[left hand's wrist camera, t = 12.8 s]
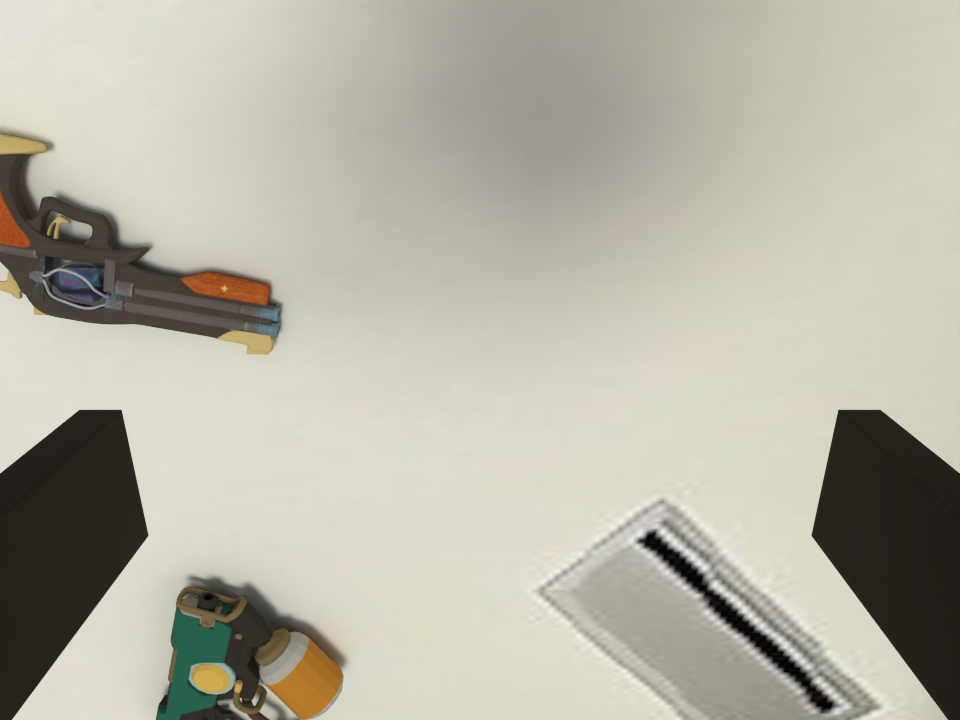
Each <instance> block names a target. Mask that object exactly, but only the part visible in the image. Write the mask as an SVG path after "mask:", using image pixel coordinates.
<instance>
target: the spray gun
mask: <svg viewBox="0 0 960 720" xmlns="http://www.w3.org/2000/svg"><path fill="white" fill-rule="evenodd" d="M188 593H194V594H197V595H201V596H200V597H199V599H197V598H193V597H190V598H186V599H183V600H182V598H183V597H184V596H185V595H186V594H188ZM223 602H225V603H229V604H232V605H236V606H235V607H234V608H233V609H232V608H231V606H230V605H229V604H225V605H224V606H223V607H222V603H223ZM176 605H177V607H176V612H175V618H174V624H173V629H172V635H171V644H172V647H173V648H174V649H173V654H172V660H171V665H170V670H169V676H168V680H169V682H170V686H169V691H168V695H165V696H164V698H163V699H162V701H161V702H160V704H159V706H158V711H157V717H156V720H231V719H229V718H228V717H230V716H231V715H232V712H231V711H230V710H228V711H226V710H223V709H221V708H220V706H219V705H217V702H216V701H217V700H218V699H225V698H233V704H234V705H235V707H236V708H237V709H238V710H240V711H242V712H244V713H247V714H248V716H249V717H250V718H251V719H252V720H269V719H268V718H266V717H265V716H264V715H262V714H261V713H260V712H259V711H260V709H261V707H262V706H263V704H264V702H265V698H266V694H267V691H266V690H265V688H264V687H263V686H260V685H258V682H259V678H260V676H261V678H262V680H263V682H264V684H265V685H266V686H267V687H268V688H269V689H270V690H271V691H272V692H273V693H274V694H275V695H276V696H277V697H278V698H279V699H280V700H281V701H282V702H283V703H284V704H285V705H286V706H287V707H288V708H290V709H291V710H292V711H293V712H294V713H295V714H296V715H297V716H298V717H299V718H301V719H303V720H308V719H312V718H315V717H318V716H320V715H321V714H323V713H324V712H326V711H327V710H328V709H329V708H330V707H331V706H332V705H333V704H334V702H335V701H336V699H337V698H338V696H339V694H340V693H341V691H342V685H343V676H344V675H343V673H342V671H341V669H340V668H339V667H338V666H337V665H336V664H335V663H334V662H333V661H332V660H331V659H330V658H329V657H328V656H327V655H326V654H325V653H324V652H323V651H322V650H321V649H320V648H319V647H318V646H317V645H316V644H315V643H314V642H313V641H312V640H311V639H310V638H309V637H308V636H306V635H304V634H302V633H300V632H290V633H289V632H288V631H287V630H286V629H284V628H280V629H277V630H275V631H274V632H273V631H272V629H271V628H270V627H269V626H268V625H267V623H266V622H265V621H264V620H263V619H262V618H261V617H260V616H259V614H258V613H257V612H256V611H255V610H254V609H253V608H252V606H251V605H250V604H249V603H247V600H246V599H245V598H244V597H243V596H241V597H239V598H237V599H233V598H230V597H226V596H223V595H220V594H216V593H213V592H209V591H206V590H203V589H199V588H196V587H187V588H184V589H183V590H182V591H181V593H180V594H179V596H178V598H177V602H176ZM258 646H259V647H258ZM254 647H258V649H257V651H256V655H255V659H256V661H257V662H258V663H259V664H260V668H259V667H258V665H257V663H256V661H255V660H254V658H253V656H252V653H253V649H254ZM256 692H259V693H260V697H259V700H258V702H257V704H256V706H253V704H252V699H253V698H254V695H255V693H256ZM239 697H240V698H242V703H241V701H240V699H239Z"/></svg>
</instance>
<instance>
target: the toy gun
mask: <svg viewBox="0 0 960 720" xmlns="http://www.w3.org/2000/svg"><path fill="white" fill-rule="evenodd" d="M45 151H46V146H45V144H43V143H41V142H38V141H34V140H30V139H25V138H20V137H15V136H9V135H3V134H0V262H1V263H2V264H3V265H4V266H5V267H6V268H7V269H8V270H9V273H8V279H7V280H6V281H0V290H2V291H5V292H8V293H11V294H12V295H13V296H14V297H16V298H18V299H20V298H22V297H23V296H22V293H24V294H25V295H26V296H27V298H28V299H29V301H30V302H31V303H32V305H33V306H34V315H50V316H54V317H59V318H65V319H71V320H77V321H83V322H89V323H97V324H139V325H145V326H151V327H157V328H163V329H168V330H174V331H180V332H186V333H192V334H198V335H203V336H209V337H214V338H217V339H220V340H225V341H230V342H236V343H241V344H246V345H248V348H247V354H269V352H271V351H272V349H273V347H274V338H277V337H278V333H279V327H280V323H278V320H279V316H280V308H279V307H275V305H276V304H271V303H269V298H270V287H269V285H267V284H264V283H259V282H255V281H251V280H247V279H242V278H237V277H233V276H228V275H223V274H219V273H214V272H205V273H200V274H196V275H191V276H186V277H177V276H172V275H166V274H161V273H156V272H153V271H149V270H147V269H144V268H142V267H140V266H138V265H136V264H134V263H133V262H134V261H136V260H138V259H139V258H140V257H142V256H143V255H144V254H145V253H146V252H147V251H148V250H149V248H138V249H116V248H115V247H114V245H113V243H112V239H113V229H112V226H111V224H110V222H109V221H108V219H107V218H106V217H105V216H103V215H100V214H95V213H90V212H86V211H82V210H79V209H77V208H74V207H72V206H70V205H68V204H66V203H64V202H62V201H60V200H58V199H56V198H54V197H44V198H42V200H41V204H40V208H39V211H38V214H37V215H36V217H35V218H34V219H33V218H32V217H31V216H30V214H29V212H28V210H27V208H26V205H25V203H24V201H23V198H22V195H21V192H20V189H19V177H20V171H21V167H22V164H23V162H24V160H25V159H26V158H27V157H28V156H30V155H31V154H38V153H43V152H45ZM51 211H55V212H57V213H59V214H62V215H64V216H66V217H68V218H70V219H72V220H75V221H78V222H82V223H86V224H89V225H91V226H92V229H93V232H92V236H91V238H90V239H89V240H88V241H87V242H86V243H80V242H75V241H70V240H64V239H59V230H60V225H61V224H62V223H70V221H69V220H68V219H67V218H65V217H63V216H58V217H56V218H55V219H54V220H53V222H52V223H51V224H50V225H49V228H48V231H47V232H46V222H47V218H48V216H49V214H50V213H51ZM55 223H56V226H55V231H54V236H52V235H51V232H52V228H53V226H54V224H55ZM53 257H54V258H60V259H66V260H71V261H77V262H71V263H67V264H64V265H62V266H60V267H59V268H57V269H53ZM90 263H94V264H105V270H104V268H97V267H95V266H94V265H92V264H90ZM74 264H86V265H89V266H88V267H67V268H64V267H66V266H69V265H74ZM90 266H91V267H90ZM52 284H53V285H54V286H55V287H56V288H57V289H58V290H59V291H61V292H62V293H63V294H65V295H66V296H68V297H70V298H72V299H77V300H82V301H87V302H92V303H93V302H95V301H97V300H99V299H101V298H103V297H105V298H107V300H106V303H105V304H100V305H97V306H92V305H86V304H81V303H75V302H72V301H68V300H65V299H63V298H60V297H58V296H56V295H55V294H54V293H53V292H52ZM108 292H109V295H107V293H108ZM273 321H274V322H273Z"/></svg>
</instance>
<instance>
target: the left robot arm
mask: <svg viewBox="0 0 960 720" xmlns="http://www.w3.org/2000/svg"><path fill="white" fill-rule="evenodd" d="M147 537H148V531H147V527H146V522H145V517H144V513H143V508H142V503H141V499H140V494H139V489H138V485H137V480H136V475H135V471H134V466H133V461H132V457H131V452H130V447H129V443H128V438H127V433H126V429H125V424H124V419H123V415H122V410H79V411H78V412H76V413H75V414H74V415H73V416H71V417H70V418H69V419H68V420H66V421H65V422H64V423H63V424H61V425H60V426H59V427H58V428H56V429H55V430H54V431H53V432H52V433H50V434H49V435H48V436H47V437H45V438H44V439H43V440H42V441H40V442H39V443H38V444H37V445H35V446H34V447H33V448H32V449H30V450H29V451H28V452H27V453H25V454H24V455H23V456H22V457H20V458H19V459H18V460H17V461H15V462H14V463H13V464H12V465H10V466H9V467H8V468H7V469H5V470H4V471H3V472H2V473H0V720H12V719H13V717H14V716H15V715H16V713H17V712H18V711H19V709H20V708H21V707H22V705H23V704H24V703H25V701H26V700H27V699H28V697H29V696H30V695H31V693H32V692H33V691H34V689H35V688H36V686H37V685H38V684H39V682H40V681H41V680H42V678H43V677H44V676H45V674H46V673H47V672H48V670H49V669H50V668H51V666H52V665H53V664H54V662H55V661H56V660H57V658H58V657H59V655H60V654H61V653H62V651H63V650H64V649H65V647H66V646H67V645H68V643H69V642H70V641H71V639H72V638H73V637H74V635H75V634H76V633H77V631H78V630H79V629H80V627H81V626H82V624H83V623H84V622H85V620H86V619H87V618H88V616H89V615H90V614H91V612H92V611H93V610H94V608H95V607H96V606H97V604H98V603H99V602H100V600H101V599H102V598H103V596H104V595H105V593H106V592H107V591H108V589H109V588H110V587H111V585H112V584H113V583H114V581H115V580H116V579H117V577H118V576H119V575H120V573H121V572H122V571H123V569H124V568H125V567H126V565H127V564H128V563H129V561H130V560H131V558H132V557H133V556H134V554H135V553H136V552H137V550H138V549H139V548H140V546H141V545H142V544H143V542H144V541H145V540H146V538H147ZM812 537H813V538H814V540H815V541H816V542H817V544H818V545H819V546H820V548H821V549H822V550H823V552H824V553H825V554H826V556H827V557H828V558H829V560H830V561H831V563H832V564H833V565H834V567H835V568H836V569H837V571H838V572H839V573H840V575H841V576H842V577H843V579H844V580H845V581H846V583H847V584H848V585H849V587H850V588H851V589H852V591H853V592H854V593H855V595H856V596H857V598H858V599H859V600H860V602H861V603H862V604H863V606H864V607H865V608H866V610H867V611H868V612H869V614H870V615H871V616H872V618H873V619H874V620H875V622H876V623H877V624H878V626H879V627H880V629H881V630H882V631H883V633H884V634H885V635H886V637H887V638H888V639H889V641H890V642H891V643H892V645H893V646H894V647H895V649H896V650H897V651H898V653H899V654H900V655H901V657H902V658H903V660H904V661H905V662H906V664H907V665H908V666H909V668H910V669H911V670H912V672H913V673H914V674H915V676H916V677H917V678H918V680H919V681H920V682H921V684H922V685H923V686H924V688H925V689H926V691H927V692H928V693H929V695H930V696H931V697H932V699H933V700H934V701H935V703H936V704H937V705H938V707H939V708H940V709H941V711H942V712H943V713H944V715H945V716H946V717H947V719H948V720H960V473H958V472H957V471H956V470H955V469H953V468H952V467H951V466H950V465H948V464H947V463H946V462H945V461H943V460H942V459H941V458H940V457H938V456H937V455H936V454H935V453H933V452H932V451H931V450H930V449H928V448H927V447H926V446H925V445H923V444H922V443H921V442H920V441H918V440H917V439H916V438H915V437H913V436H912V435H911V434H910V433H908V432H907V431H906V430H905V429H904V428H902V427H901V426H900V425H899V424H897V423H896V422H895V421H894V420H892V419H891V418H890V417H889V416H887V415H886V414H885V413H884V412H882V411H881V410H838V415H837V419H836V424H835V429H834V433H833V438H832V443H831V447H830V452H829V457H828V461H827V466H826V471H825V475H824V480H823V485H822V489H821V494H820V499H819V503H818V508H817V513H816V517H815V522H814V527H813V531H812Z"/></svg>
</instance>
